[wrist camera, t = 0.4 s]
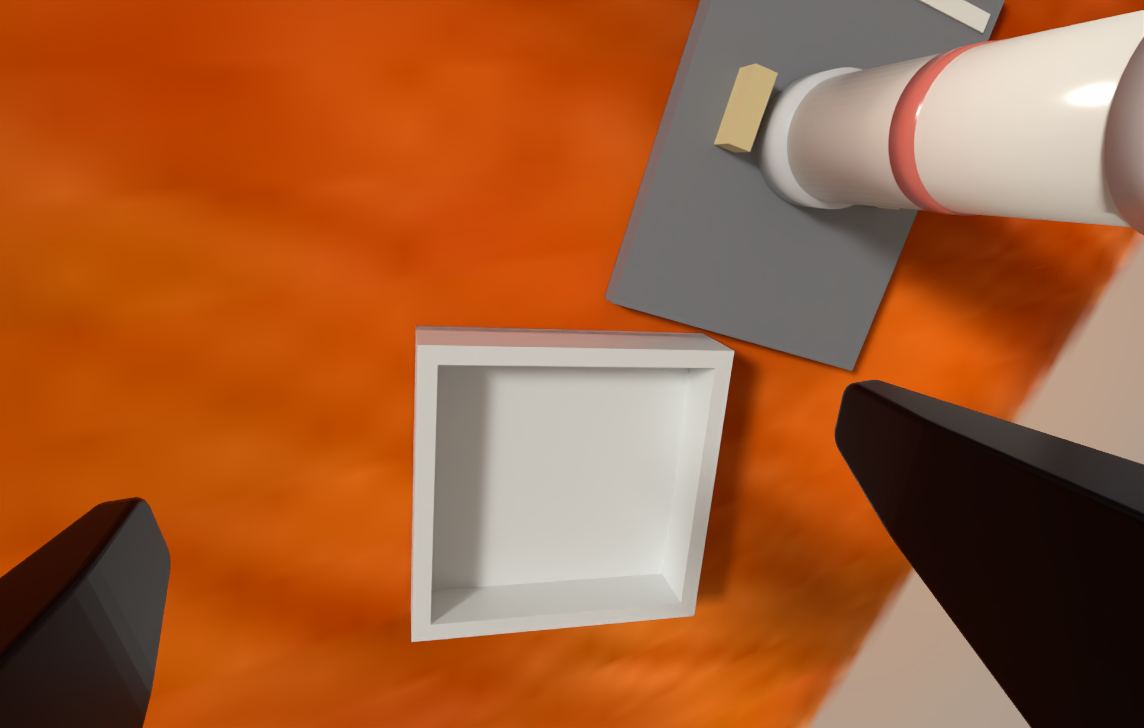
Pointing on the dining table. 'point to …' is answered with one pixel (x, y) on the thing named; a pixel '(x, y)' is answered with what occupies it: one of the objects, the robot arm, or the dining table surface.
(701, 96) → the panel
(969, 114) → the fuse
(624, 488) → the parts tray
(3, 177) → the dining table surface
